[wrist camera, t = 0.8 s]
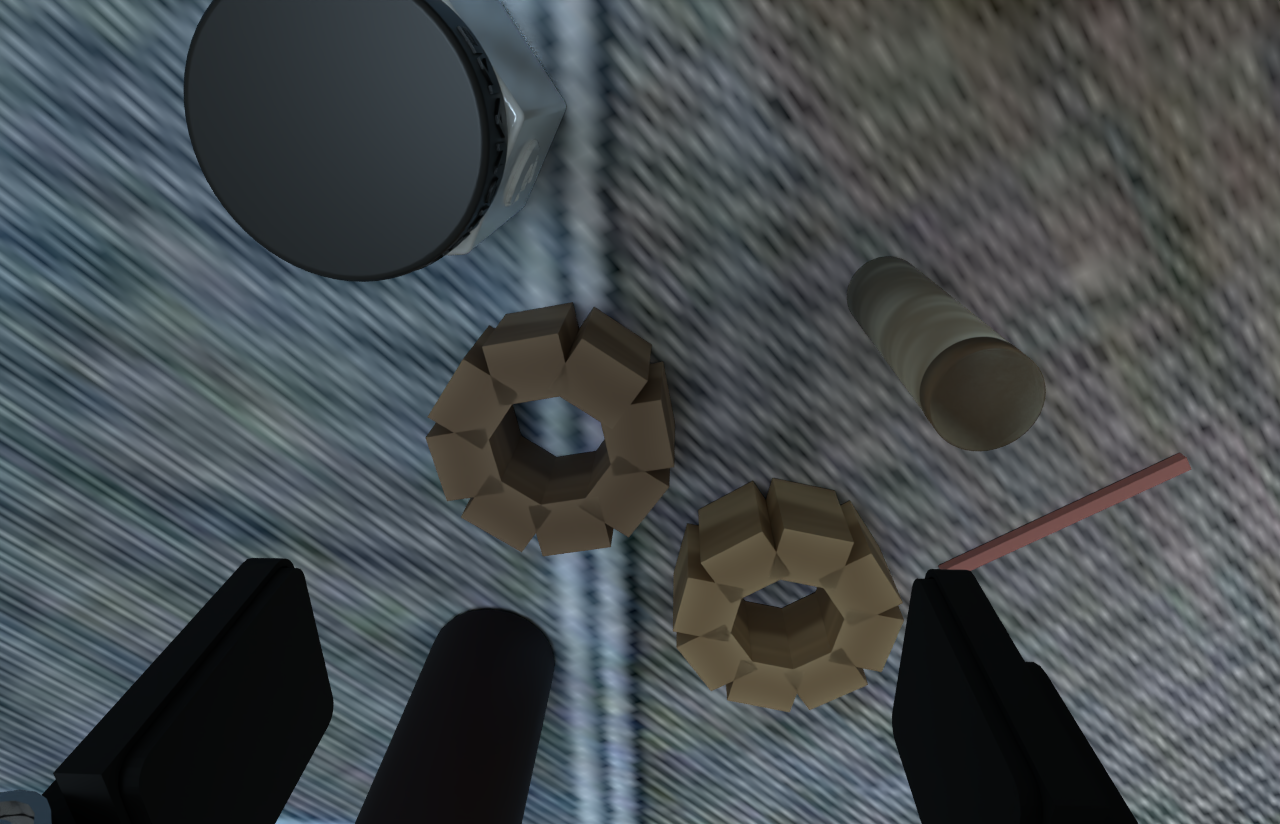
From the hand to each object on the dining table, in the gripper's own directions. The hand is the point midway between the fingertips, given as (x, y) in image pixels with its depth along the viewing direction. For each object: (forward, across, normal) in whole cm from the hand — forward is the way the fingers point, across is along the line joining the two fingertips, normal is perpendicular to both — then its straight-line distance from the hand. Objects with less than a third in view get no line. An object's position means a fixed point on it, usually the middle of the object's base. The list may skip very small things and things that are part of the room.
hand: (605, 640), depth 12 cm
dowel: (+23, -10, +1) cm, 25 cm away
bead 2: (+23, -6, +15) cm, 29 cm away
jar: (+24, +8, -7) cm, 26 cm away
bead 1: (+23, +4, +6) cm, 25 cm away
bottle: (+24, +9, +21) cm, 33 cm away
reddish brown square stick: (+23, -20, +12) cm, 33 cm away
